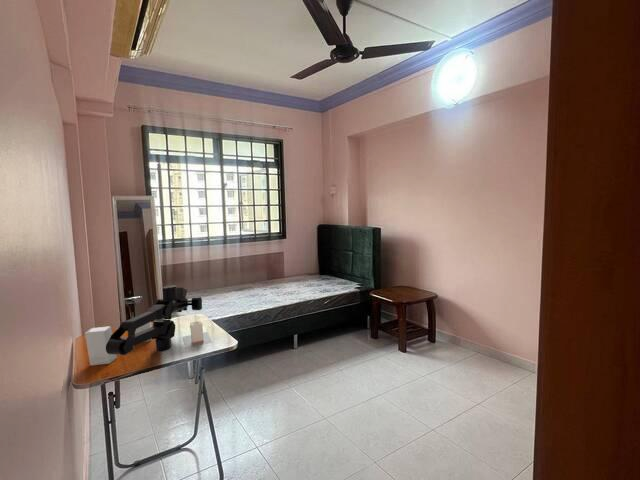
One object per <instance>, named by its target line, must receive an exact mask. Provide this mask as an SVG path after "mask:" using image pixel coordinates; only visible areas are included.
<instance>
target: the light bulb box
mask: <svg viewBox="0 0 640 480" xmlns="http://www.w3.org/2000/svg"><path fill="white" fill-rule="evenodd" d="M151 327H152V321H151V322H149V323H147V324H145V325H143V326H141V327H139V328H137V329H136V331H135V334H136V333H138V332H141V331H143V330H146V329H148V328H151ZM151 341H152V339H149V340H147V341H145V342H144V343H147V342H151Z"/></svg>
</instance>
